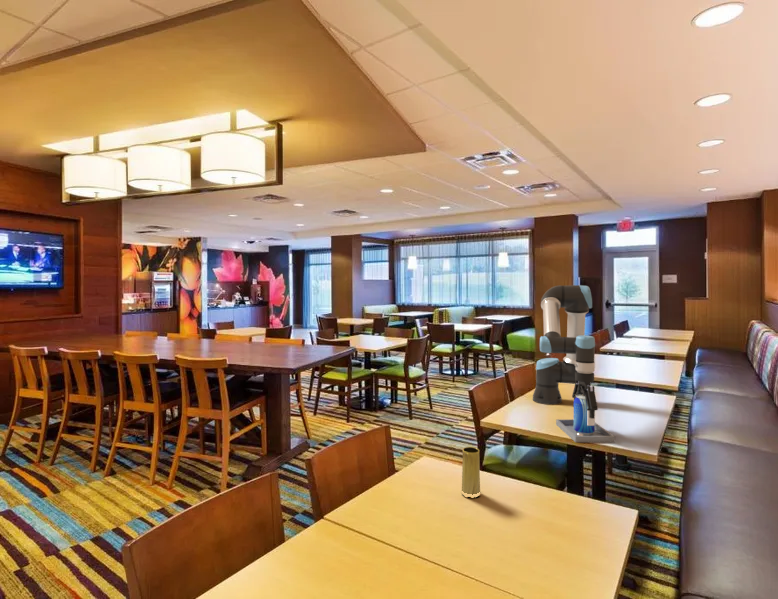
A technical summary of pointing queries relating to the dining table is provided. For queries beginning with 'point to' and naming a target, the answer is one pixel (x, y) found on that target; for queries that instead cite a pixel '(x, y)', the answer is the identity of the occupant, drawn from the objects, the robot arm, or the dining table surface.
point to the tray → (597, 436)
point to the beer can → (581, 416)
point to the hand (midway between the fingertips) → (583, 420)
